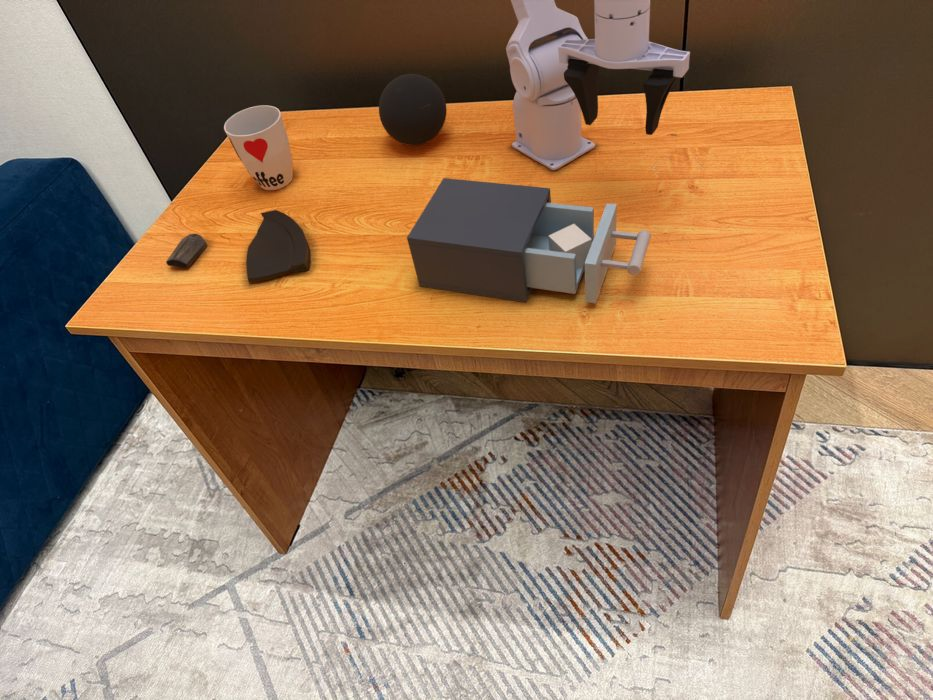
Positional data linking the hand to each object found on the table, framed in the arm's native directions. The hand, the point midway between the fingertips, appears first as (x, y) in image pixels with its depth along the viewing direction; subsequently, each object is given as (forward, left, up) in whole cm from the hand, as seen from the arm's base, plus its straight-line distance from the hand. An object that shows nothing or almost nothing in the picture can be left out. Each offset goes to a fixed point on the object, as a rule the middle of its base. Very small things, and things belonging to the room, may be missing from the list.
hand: (621, 125), depth 83 cm
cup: (-41, -31, -11) cm, 52 cm away
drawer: (+6, -14, -9) cm, 18 cm away
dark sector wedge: (-25, -38, -11) cm, 46 cm away
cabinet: (-3, -20, -10) cm, 23 cm away
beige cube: (+6, -14, -8) cm, 18 cm away
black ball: (-33, -10, -11) cm, 36 cm away
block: (-33, -48, -11) cm, 59 cm away
